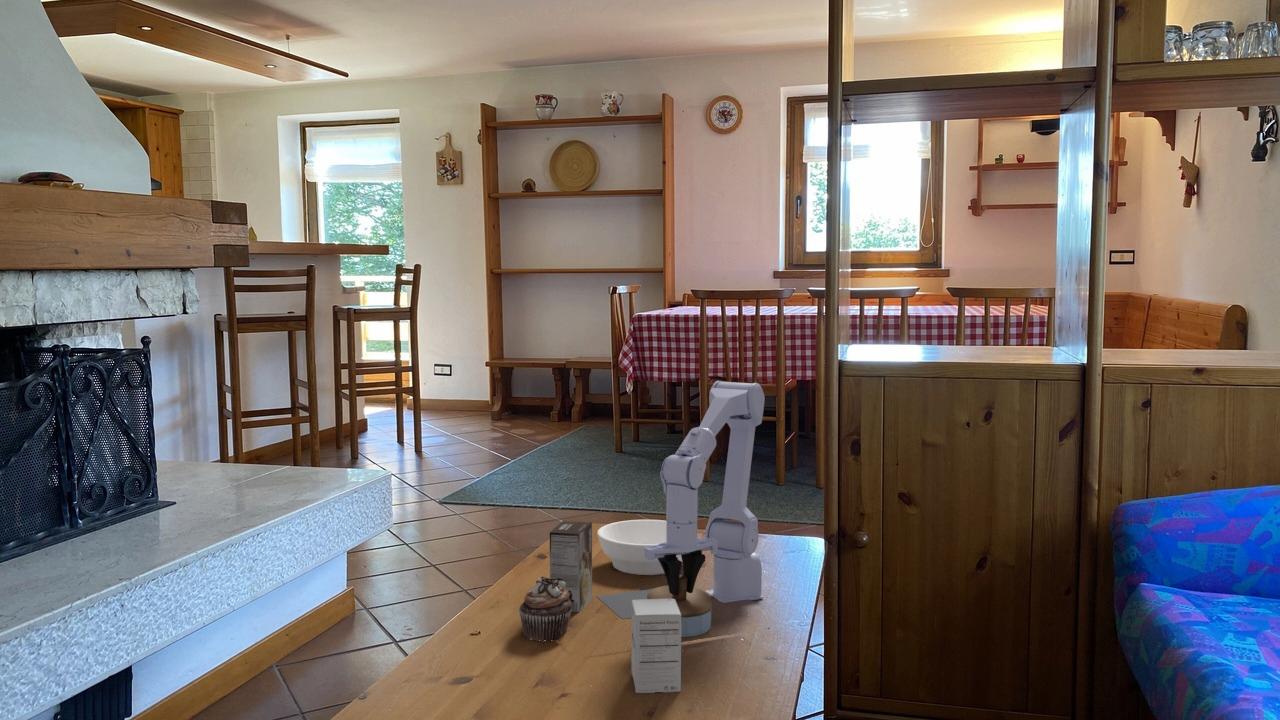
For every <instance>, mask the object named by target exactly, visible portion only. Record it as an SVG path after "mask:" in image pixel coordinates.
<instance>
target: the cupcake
mask: <svg viewBox="0 0 1280 720" xmlns="http://www.w3.org/2000/svg"><path fill="white" fill-rule="evenodd" d="M565 585H566V583H565V582H564V579H562V578H550V577H548V578H547V577H546V576H540V577H538V578H537V579H536V580H535V585H534V586H533V587H531V588H530V589H528V592H527V593H525V595H524V601H523V602H522V603H521V604H519V607H518V613H519V617H520V622H521V626H522V632H523V633H522V634H523V636H525V637H524V638H526V639H527V638H528V639H527V640H529V639H532V640H531V641H533V640H536V641H535V642H537V641H539V640H540V641H544V640H546V641H548V642H552V641H551V640H555V641H558V640H559V637H561V636H563V635H565V634H566V633H567V632H568V627H569V621H570V618H571V614H572V611H571V610H572V602H571V601H570V599H569V598H568V597H569V592H568V591H567V590H566V589H565Z"/></svg>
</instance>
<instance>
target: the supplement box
mask: <svg viewBox="0 0 1280 720" xmlns="http://www.w3.org/2000/svg"><path fill="white" fill-rule="evenodd" d="M631 676H632V679H633V685H634V691H635V693H636V694H652V693H653V694H654V693H655V692H663V693H679V692H682V637H681V613H680V610H679V608H678V605H677V603H676V600H675V599H638V600H632V618H631ZM655 694H656V693H655Z"/></svg>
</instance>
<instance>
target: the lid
mask: <svg viewBox="0 0 1280 720" xmlns="http://www.w3.org/2000/svg"><path fill="white" fill-rule="evenodd" d="M687 579H688V578H687V576H684V575H683V574H680V576H679V594H678V595H677V596H674V595H672V594H671V593H670V592H669V586H668V585H663V586H657V587H655V588H652V589H653V590H651V591H650V592H649V593H648V595H647V599H675V600H676V603H677V605H678V608H679V610H680V613H681V617H693V616H698V615H702V614H704V613H706V612H708V611H709V610H710V609H711V610H712V602H713V599H712V597H711V595H710V594H709V593H707V592H706V591H704V590H702V589H699V588H696V587H694V589H693V593H688V592H687Z"/></svg>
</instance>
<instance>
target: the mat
mask: <svg viewBox="0 0 1280 720" xmlns="http://www.w3.org/2000/svg"><path fill="white" fill-rule="evenodd" d="M653 589H654V588H648V589H642V590H633V591H632V590H631V591H626V592H625V591H624V592H617V593H612V594H611V593H609V594H603V595H596V596H595V597H596V598H597V599H598V600H600V602H602V603H603V604H604V605H605V606H606V607H607V608H609V609H610V610H611V611H612V612H613V613H614V614H615V615H616V616H618V618H620V619H621V620H627V619H632V600H638V599H647V595H648V593H649V592H650V591H651V590H653Z"/></svg>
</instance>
